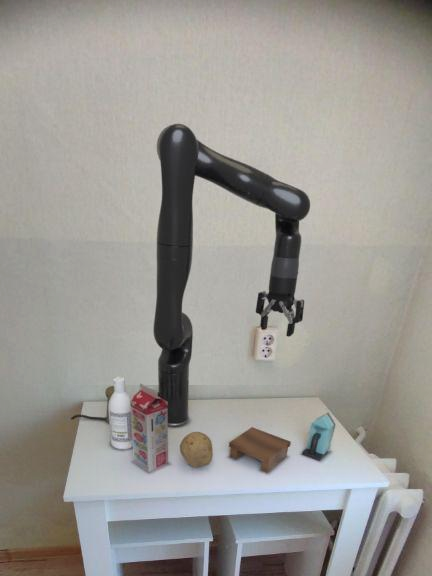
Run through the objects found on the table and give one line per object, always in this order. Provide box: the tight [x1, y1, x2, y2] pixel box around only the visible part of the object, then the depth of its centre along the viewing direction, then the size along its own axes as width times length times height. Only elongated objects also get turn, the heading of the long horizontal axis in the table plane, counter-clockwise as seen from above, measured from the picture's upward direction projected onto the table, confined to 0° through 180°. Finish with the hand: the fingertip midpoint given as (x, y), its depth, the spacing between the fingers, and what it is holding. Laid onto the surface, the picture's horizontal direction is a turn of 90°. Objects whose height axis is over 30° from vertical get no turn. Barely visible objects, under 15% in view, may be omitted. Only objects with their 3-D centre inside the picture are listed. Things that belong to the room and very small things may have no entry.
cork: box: [104, 385, 114, 425], centre depth 143 cm, size 6×6×11 cm
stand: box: [228, 426, 291, 474], centre depth 131 cm, size 12×13×5 cm
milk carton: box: [130, 383, 169, 473], centre depth 120 cm, size 7×7×22 cm
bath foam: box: [108, 376, 133, 450], centre depth 128 cm, size 7×7×20 cm
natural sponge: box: [179, 431, 214, 468], centre depth 124 cm, size 9×9×10 cm
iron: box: [301, 412, 336, 462], centre depth 132 cm, size 12×6×7 cm
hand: (276, 332), depth 137 cm, fingers open, 8 cm apart
